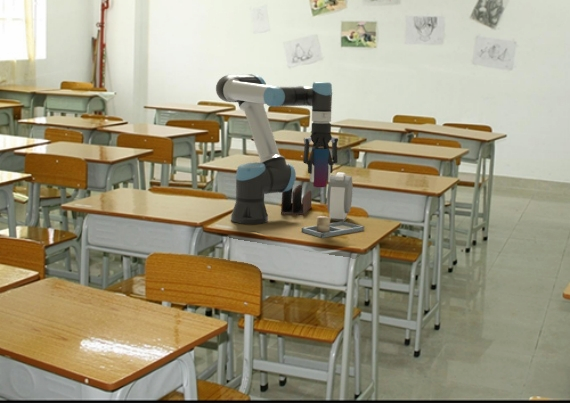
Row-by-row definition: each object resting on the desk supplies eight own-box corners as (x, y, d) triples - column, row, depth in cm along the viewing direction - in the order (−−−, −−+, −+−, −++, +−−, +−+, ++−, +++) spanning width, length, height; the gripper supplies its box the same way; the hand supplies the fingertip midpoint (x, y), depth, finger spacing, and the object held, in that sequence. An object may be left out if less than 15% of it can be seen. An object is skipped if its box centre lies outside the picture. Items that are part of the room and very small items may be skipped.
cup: (322, 188, 309) (323, 149, 306) (307, 186, 313) (308, 148, 310) (331, 186, 314) (332, 148, 312) (317, 184, 318) (318, 146, 316)
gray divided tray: (301, 234, 309) (301, 227, 308) (342, 227, 323) (343, 221, 323) (322, 240, 300) (322, 233, 300) (363, 232, 315) (363, 226, 314)
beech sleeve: (313, 232, 308) (314, 217, 307) (323, 230, 311) (323, 215, 310) (322, 234, 304) (323, 219, 303) (332, 233, 308) (332, 218, 307)
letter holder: (280, 214, 345) (281, 182, 342) (290, 205, 364) (291, 175, 361) (303, 216, 343) (304, 183, 340) (311, 207, 362) (312, 176, 359)
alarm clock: (332, 215, 345) (334, 169, 341) (351, 216, 344) (353, 170, 340) (325, 224, 328) (327, 175, 324) (346, 225, 326) (348, 176, 322)
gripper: (300, 123, 303) (299, 183, 307) (347, 123, 309) (346, 182, 313) (295, 121, 310) (293, 180, 314) (341, 121, 316) (339, 179, 320)
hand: (319, 181), depth 313 cm, fingers closed on cup, 6 cm apart
